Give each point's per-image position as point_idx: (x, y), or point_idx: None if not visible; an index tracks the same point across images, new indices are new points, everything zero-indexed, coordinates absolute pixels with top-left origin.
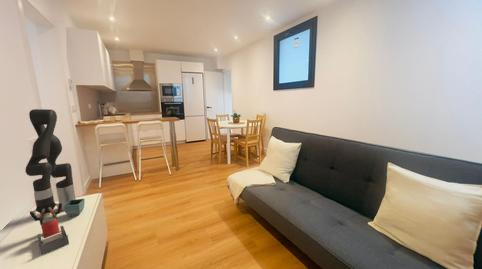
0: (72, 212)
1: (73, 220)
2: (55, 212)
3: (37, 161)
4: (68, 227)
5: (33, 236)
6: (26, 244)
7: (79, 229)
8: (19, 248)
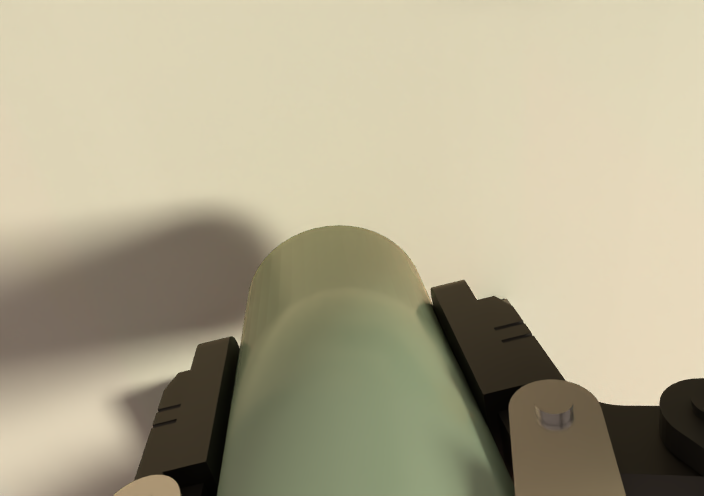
0: None
1: (687, 3)
2: (625, 482)
3: None
4: (573, 254)
5: (81, 236)
6: (78, 418)
7: None
8: (27, 466)
